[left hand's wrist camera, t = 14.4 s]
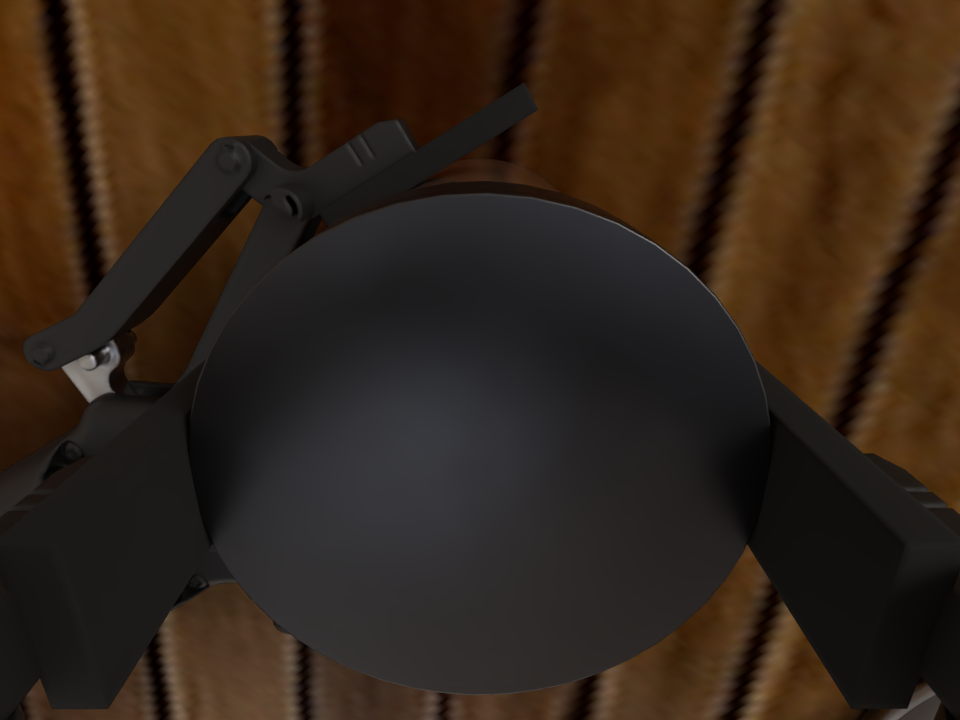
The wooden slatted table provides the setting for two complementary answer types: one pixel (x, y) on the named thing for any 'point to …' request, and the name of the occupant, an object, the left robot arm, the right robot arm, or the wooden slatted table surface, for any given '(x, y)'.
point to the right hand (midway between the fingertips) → (605, 252)
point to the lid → (480, 440)
